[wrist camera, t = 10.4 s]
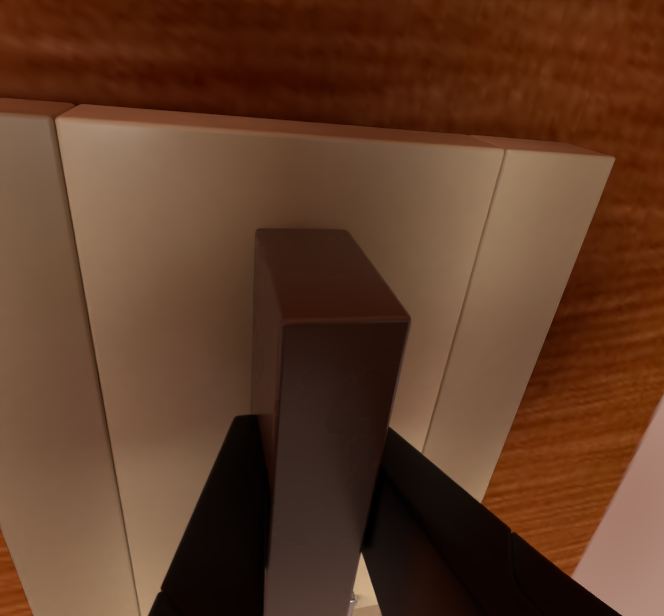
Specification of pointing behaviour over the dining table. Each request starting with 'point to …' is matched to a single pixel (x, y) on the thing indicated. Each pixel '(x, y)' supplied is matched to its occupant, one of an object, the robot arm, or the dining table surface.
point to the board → (241, 310)
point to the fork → (320, 408)
